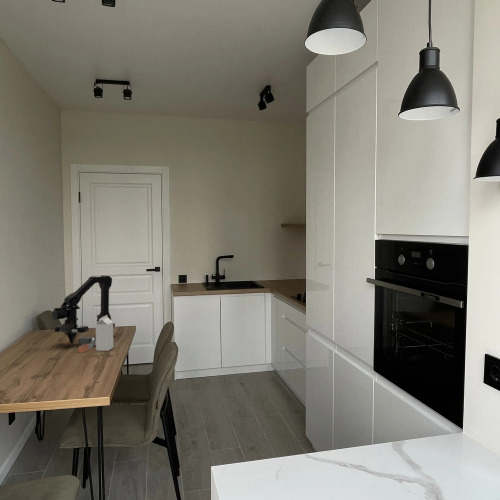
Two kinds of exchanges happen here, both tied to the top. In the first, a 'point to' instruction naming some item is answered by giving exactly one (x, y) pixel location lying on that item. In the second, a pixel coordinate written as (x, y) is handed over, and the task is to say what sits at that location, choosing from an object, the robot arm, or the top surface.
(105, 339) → the milk carton
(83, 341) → the dark-topped grey cube
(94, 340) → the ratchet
